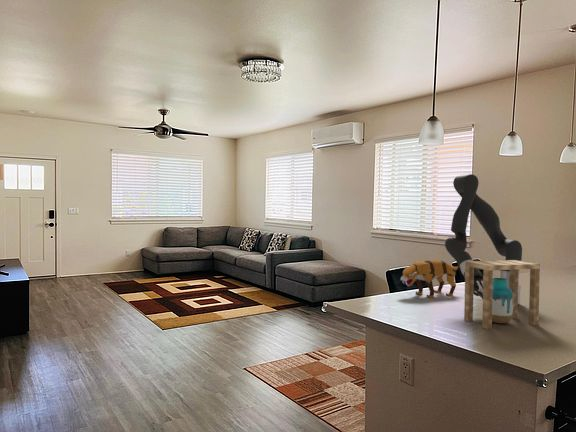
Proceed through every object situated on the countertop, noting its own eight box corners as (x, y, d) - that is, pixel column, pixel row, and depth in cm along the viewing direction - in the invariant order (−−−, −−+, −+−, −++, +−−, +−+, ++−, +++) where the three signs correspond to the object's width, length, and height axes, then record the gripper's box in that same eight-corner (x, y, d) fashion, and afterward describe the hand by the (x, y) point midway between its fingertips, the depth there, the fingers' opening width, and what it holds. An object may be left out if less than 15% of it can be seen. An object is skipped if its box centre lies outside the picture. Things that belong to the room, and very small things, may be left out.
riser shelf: (513, 316, 198) (514, 259, 197) (538, 325, 184) (539, 264, 184) (464, 320, 191) (465, 261, 190) (486, 329, 178) (487, 265, 177)
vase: (515, 327, 181) (516, 281, 181) (487, 324, 184) (488, 279, 184) (509, 320, 191) (510, 277, 191) (483, 318, 194) (484, 275, 194)
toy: (394, 295, 243) (395, 259, 243) (450, 291, 258) (450, 257, 258) (408, 300, 232) (409, 262, 231) (465, 295, 247) (466, 259, 246)
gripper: (462, 267, 202) (480, 298, 191) (486, 266, 206) (505, 297, 194) (455, 276, 207) (471, 308, 196) (478, 275, 211) (496, 306, 200)
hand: (488, 302), depth 195 cm, fingers closed
